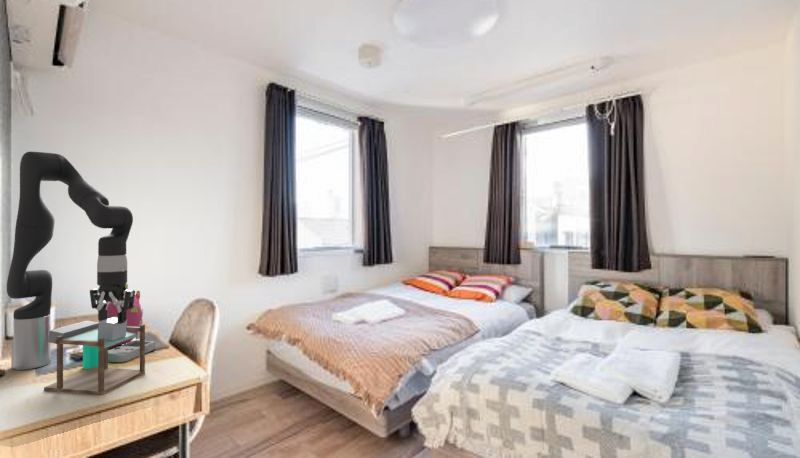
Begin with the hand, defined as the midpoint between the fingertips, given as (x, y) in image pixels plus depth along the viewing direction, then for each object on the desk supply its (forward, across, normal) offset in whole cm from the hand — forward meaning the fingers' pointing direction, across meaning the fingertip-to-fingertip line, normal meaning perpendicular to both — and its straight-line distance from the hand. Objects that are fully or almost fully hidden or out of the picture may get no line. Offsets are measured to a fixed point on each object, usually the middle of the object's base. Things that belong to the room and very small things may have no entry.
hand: (112, 322), depth 117 cm
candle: (+19, -18, +11) cm, 29 cm away
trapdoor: (+6, -7, 0) cm, 9 cm away
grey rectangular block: (+5, 0, 0) cm, 5 cm away
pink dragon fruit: (+19, -27, +32) cm, 46 cm away
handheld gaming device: (+20, -14, +22) cm, 33 cm away
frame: (+19, -5, 0) cm, 20 cm away
